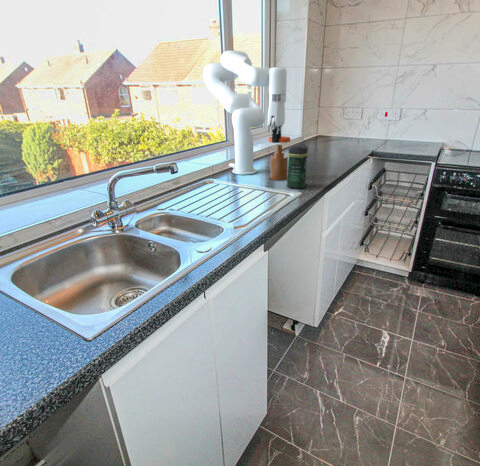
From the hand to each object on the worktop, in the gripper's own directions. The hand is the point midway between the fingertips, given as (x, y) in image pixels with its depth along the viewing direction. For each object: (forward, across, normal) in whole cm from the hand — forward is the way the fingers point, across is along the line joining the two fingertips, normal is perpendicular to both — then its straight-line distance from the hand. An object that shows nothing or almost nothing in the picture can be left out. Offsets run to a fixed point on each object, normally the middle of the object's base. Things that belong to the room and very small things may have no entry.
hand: (276, 142), depth 150 cm
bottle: (+18, -4, 0) cm, 18 cm away
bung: (0, -4, 0) cm, 4 cm away
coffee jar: (+18, +6, +12) cm, 23 cm away
